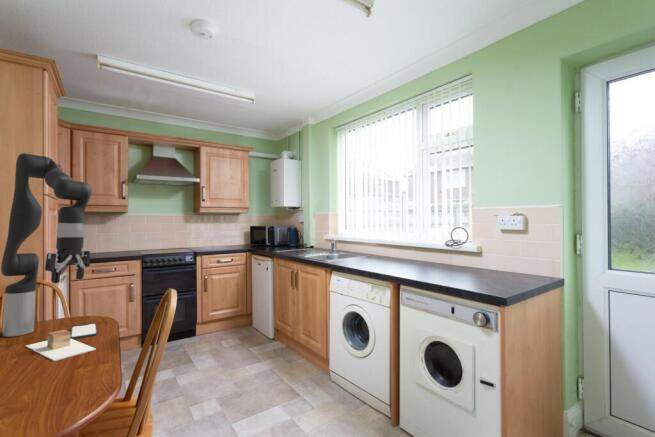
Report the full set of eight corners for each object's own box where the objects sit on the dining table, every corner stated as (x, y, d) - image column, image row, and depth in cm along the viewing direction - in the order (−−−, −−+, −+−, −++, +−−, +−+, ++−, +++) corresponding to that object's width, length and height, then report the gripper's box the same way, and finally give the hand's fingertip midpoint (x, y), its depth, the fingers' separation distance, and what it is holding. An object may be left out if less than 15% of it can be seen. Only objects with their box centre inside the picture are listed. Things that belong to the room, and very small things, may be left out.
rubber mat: (25, 346, 115) (25, 345, 115) (65, 337, 126) (65, 336, 126) (54, 361, 103) (54, 360, 103) (95, 349, 113) (95, 348, 113)
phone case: (97, 337, 128) (96, 326, 141) (97, 333, 128) (96, 323, 141) (69, 341, 123) (71, 330, 136) (69, 337, 123) (71, 326, 136)
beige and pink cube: (47, 347, 114) (48, 333, 114) (64, 342, 118) (64, 329, 119) (53, 349, 112) (53, 335, 112) (69, 345, 116) (70, 331, 116)
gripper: (80, 235, 120) (78, 277, 119) (40, 235, 106) (37, 283, 105) (97, 235, 118) (94, 278, 118) (59, 236, 104) (56, 285, 104)
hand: (68, 281), depth 111 cm, fingers open, 8 cm apart
